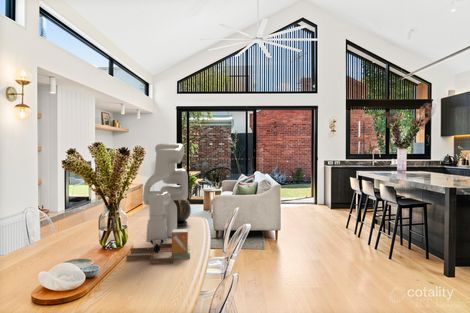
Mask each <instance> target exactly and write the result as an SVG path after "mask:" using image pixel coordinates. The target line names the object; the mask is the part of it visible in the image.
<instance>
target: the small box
mask: <svg viewBox="0 0 470 313" xmlns="http://www.w3.org/2000/svg"><path fill="white" fill-rule="evenodd" d="M171 243H172V251H171V254H172V253H188V246H189V229H188V228H180V229H179V228H177V229H173V231H172V237H171Z"/></svg>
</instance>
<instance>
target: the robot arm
mask: <svg viewBox="0 0 470 313" xmlns="http://www.w3.org/2000/svg"><path fill="white" fill-rule="evenodd" d="M154 149H155V150H154V151H155V153H156V154H155V162H154V172H153V174H152V175H151V176H149V178H148V179H147V180H146V182H144V183H145V184H144V187H143V194H142V201H143V204H144V205H147V206H148V207H149V209H148V210H149V211H148V212H149V216H148V217H149V219H148V220H147V224H146V240H145V242H146V243H150V244H151V245H153V246H152V247H154V252H153V253H154V254H159V253H160V252H159V251H160V245H161V244H164V243H165V242H167V241H168V240H169V239H168V238H172V231H173V229H178V227H177V206H176V204H175V203H174V202H173V200H186V199H187V200H188V198H189V178H188V176H189V175H188V172H187V170H186V169H184V168H176V164H181V162H182V161H183V158H184V155H185V147H184V144H182V143H158V144H156V145H155V148H154ZM160 181H162V182H163V184H167V185H163V186H162V187H161V188H160V190H151V188H152V187H153V185H155V184H156V183H159V182H160ZM168 184H169V185H168ZM157 241H158V242H157Z"/></svg>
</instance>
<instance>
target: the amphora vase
mask: <svg viewBox="0 0 470 313" xmlns="http://www.w3.org/2000/svg"><path fill="white" fill-rule="evenodd" d="M173 202H174V203H175V204H176V206H177V228H178V227H185V226H186V225H188V221H187V220H188V219H189V218H190V217H191V213H192V208H191V203H190V201H189V200H188V198H187V199H186V200H173ZM184 225H185V226H184Z"/></svg>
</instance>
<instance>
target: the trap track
mask: <svg viewBox="0 0 470 313" xmlns="http://www.w3.org/2000/svg"><path fill="white" fill-rule="evenodd" d="M163 252H164V253H165V252H169V253H170V252H171V257H154V254H155V252H154V246H152V247H151V246H149V247H147V246H146V247H130V254H129V255H128V254H127V255H126V257H125V258H126V259H125V261H126V262H130V261H131V262H133V261H149V265H161V264H163V265H164V264H165V265H166V264H174V260H179V259H180V260H181V259H191V246H190V245H188V253H172V242H169V243H165V242H163V243H162V244H161V245H160V251H159V253H163ZM147 253H148V254H147Z"/></svg>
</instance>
